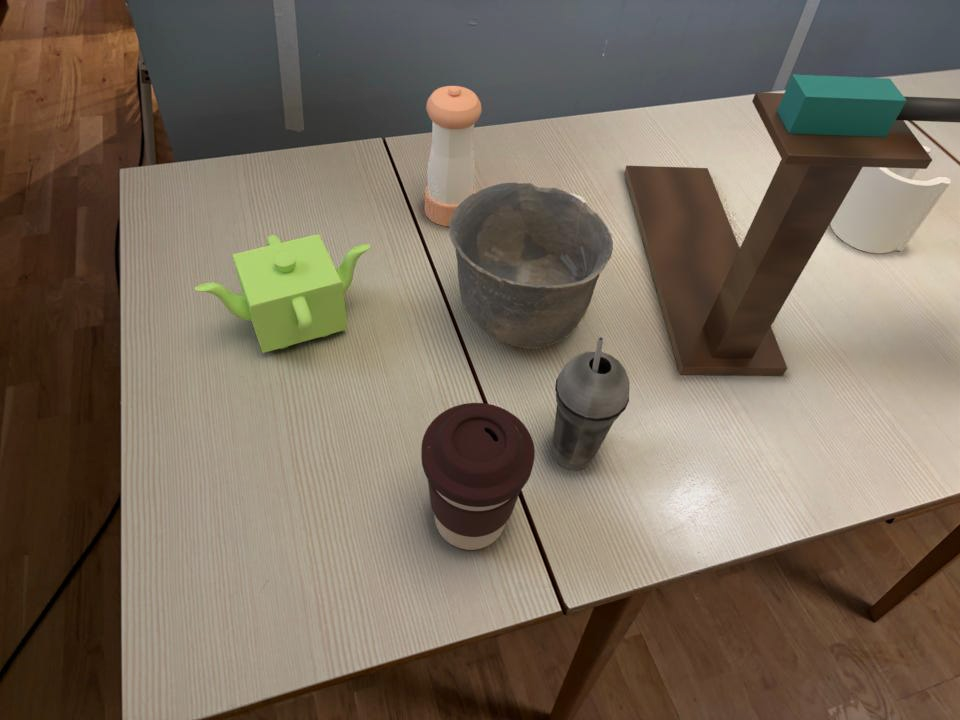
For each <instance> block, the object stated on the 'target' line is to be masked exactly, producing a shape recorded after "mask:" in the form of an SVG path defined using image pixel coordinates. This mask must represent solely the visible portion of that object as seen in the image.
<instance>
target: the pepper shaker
mask: <svg viewBox="0 0 960 720" xmlns="http://www.w3.org/2000/svg"><path fill="white" fill-rule="evenodd" d="M425 106H426V112H427V115H428V117H429V119H430V121H431V122H432V123H431V124H432V127H431V147H430V151H429V157H428V163H427V169H426V172H427V173H426V175H427V176H426V177H427V178H426V180H427V184H426V185H425V188H424V213H425V216H426V217H427V218H428V219H429V220H430V221H431V222H433V223H434V224H436V225H439V226H443V227H449V224H450V220H451V217H452V215H453V212H454V211H455V209H456V208H457V207H458V205H459V204H460V203H462V202H463V201H464V200H465V199H466V198H467V197H469V196H470V195H472V194H476V193H477V190H476V188H475V180H476V163H475V152H474V137H475V124H477V122H478V120H479V119H480V117H481V114H482V109H483V107H482V102H481V101H480V98H479V97H478V96H477V94H476V93H475V92H474V91H472V90H471V89H469V88H467V87H465V86H460V85H446V86H441V87H438V88H437V89H435V90H434V91H433V92H432V93H431V94H430V96H429V97H428V99H427V101H426V105H425Z"/></svg>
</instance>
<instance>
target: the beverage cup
mask: <svg viewBox="0 0 960 720" xmlns="http://www.w3.org/2000/svg"><path fill="white" fill-rule="evenodd" d="M604 339H605V338H604V337H603V336H598V338H597V341H596V346H595V350H593V351H585V352H582V353H579V354H577V355H575V356H573V357H572V358H571V359H570V360H569V361H568V362H566V363H565V364H564V366H563V368H562V369H561V371H560V372H559V374H558V376H557V378H556V380H555V388H554V390H555V398H556V399H555V401H556V410H555V417H554V426H553V434H552V451H551V453H552V456H553V459H554V460H555V462H556V463H557V464H558V465H559V466H561V467H562V468H564V469H567V470H569V471H579V470H580V471H581V470H583V469H586V468H587V467H589V465H591V462H592V461H593V459H594V458H595V457H596V455H597V453H598V452H599V450H600V448H601V446H602V444H603V443H604V441H605V439H606V437H607V435H608V433H609V431H610V430H611V428H612V426H613V424H614V423H615V421H616V420H617V419H618V418H619V417H620V416H621V415H622V413H623V412H625V411H626V409H627V406H628V404H629V402H630V378H629V375H628V373H627V371H626V368H625V367H624V366H623V364H622V363H621V362H620V360H618V359H617V358H615V357H614V356H612V355H611V354H609V353H606V352H604V351H602V350H603V344H604Z"/></svg>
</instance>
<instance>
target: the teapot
mask: <svg viewBox="0 0 960 720" xmlns="http://www.w3.org/2000/svg"><path fill="white" fill-rule="evenodd" d="M266 244H267V245H266V246H261V247H257V248H253V249H249V250H245V251H241V252H237V253H233V254H232V255H231V256H232V260H233V263H234V268H235V271H236V275H237V278H238V281H239V285H240V289H241V292H242V294H235V293H232V292H231V291H230V290H229V289H228V288H227V287H226V286H224V285H223V284H222V283H217V282H204V283H200V284H198V285H196V286H195V287H194V290H195V291H197V292H201V293H203V292H204V293H208V294H211V295H214V296H216V297H217V298H218V299H219V300H220V301H221V302H222V304H223V305H224V306H225V307H226V309H227V310H228V311H229V312H230V313H231V314H232V315H233V316H235V317H236V318H239V319H241V320H245V321H251V323H252V327H253V329H254V333H255V335H256V338H257V341H258V344H259V347H260V351H261V353H262V354H265V353H269V352H272V351H275V350H283V349H286V348H289V346H293V345H296V344H300V343H304V342H307V341H311V340H314V339H319V338H325V337H328V336H330V335H332V334H336V333H339V332H343V331H346V330H349V326H348V319H347V309H346V302H345V294H346V292H347V291H348V290H349V288H350V287H351V284H352V282H353V278H354V272H355V268H356V265H357V262H358V260H359V258H360V257H361V256H362V255H363V254H364V253H366V252H367V251H369V250H370V249H371V247H372V246H371V244H369V243H364V244H359V245H356V246H354V247H352V248H351V249H350V250H349V251H348V252H347V253H346V255H345V257H344V259H343V261H342V263H341V264H340V266H339V267H337V269H336V267H335V264H334V262H333V260H332V257H331V256H330V253H329V251H328V249H327V247H326V245H325V243H324V241H323V238H322V236H321V234H320V233H317V234H313V235H308V236H304V237H299V238H295V239H291V240H286V241H282V240H281V238H280V236H278V235H277V234H271V235H268V236H267V238H266Z"/></svg>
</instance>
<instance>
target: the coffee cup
mask: <svg viewBox="0 0 960 720" xmlns="http://www.w3.org/2000/svg"><path fill="white" fill-rule="evenodd" d="M420 450H421V453H420V454H421V455H420V456H421V466H422V469H423V473H424V475H425V478H426V479H427V484H428V494H429V501H430V505H431V506H430V507H431V509H432V513H433V517H434V523H435V526H436V530H437V531H438V533H439V534H440V536H441V537H442V538H443V539H444V540H445V541H446V542H447V543H448V544H450V545H451V546H454V547H456V548H458V549H462V550H468V551H476V550H480V549H483V548H486V547H489V546H490V545H492V544H493V543H495V541H497V540H498V539H499V538H500V536H501V535H502V534H503V532H504V529H505V528H506V524H507V522H508V521H509V519H510V518H511V516H512V514H513V511H514V509H515V506H516V504H517V501H518V499H519V495H520V493H521V490H522V489H523V488H524V487H525V486H526V484H527V483H528V481H529V479H530V477H531V475H532V471H533V467H534V463H535V457H536V456H535V453H536V450H535V443H534V440H533V438H532V434H531V433H530V432H529V430H528V428H527V427H526V425H525V424H524V423H523V422H522V421H521V420H520V418H518V417H517V416H516V415H514V414H513V413H512V412H510V411H508V410H507V409H505V408H502V407H500V406H497V405H494V404H490V403H486V402H485V403H484V402H467V403H462V404H458V405H454V406H452V407H450V408H448V409H446V410H444V411H442V412H441V413H440V414H438V415H437V416H436V417H435V418H434V419H433V420H432V421H431V422H430V424H429V425H428V427H427V428H426V430H425V431H424V434H423V437H422V441H421V449H420Z"/></svg>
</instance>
